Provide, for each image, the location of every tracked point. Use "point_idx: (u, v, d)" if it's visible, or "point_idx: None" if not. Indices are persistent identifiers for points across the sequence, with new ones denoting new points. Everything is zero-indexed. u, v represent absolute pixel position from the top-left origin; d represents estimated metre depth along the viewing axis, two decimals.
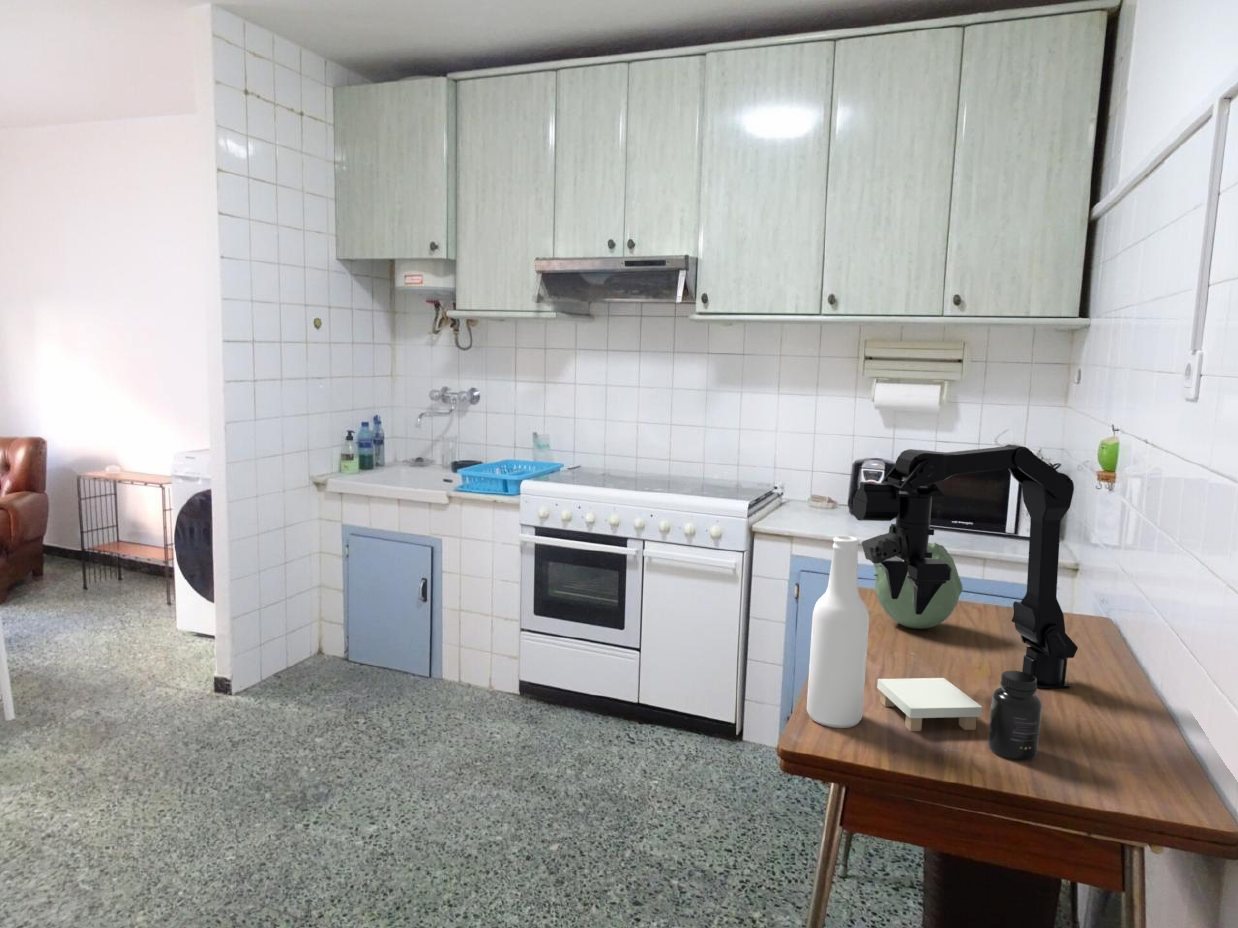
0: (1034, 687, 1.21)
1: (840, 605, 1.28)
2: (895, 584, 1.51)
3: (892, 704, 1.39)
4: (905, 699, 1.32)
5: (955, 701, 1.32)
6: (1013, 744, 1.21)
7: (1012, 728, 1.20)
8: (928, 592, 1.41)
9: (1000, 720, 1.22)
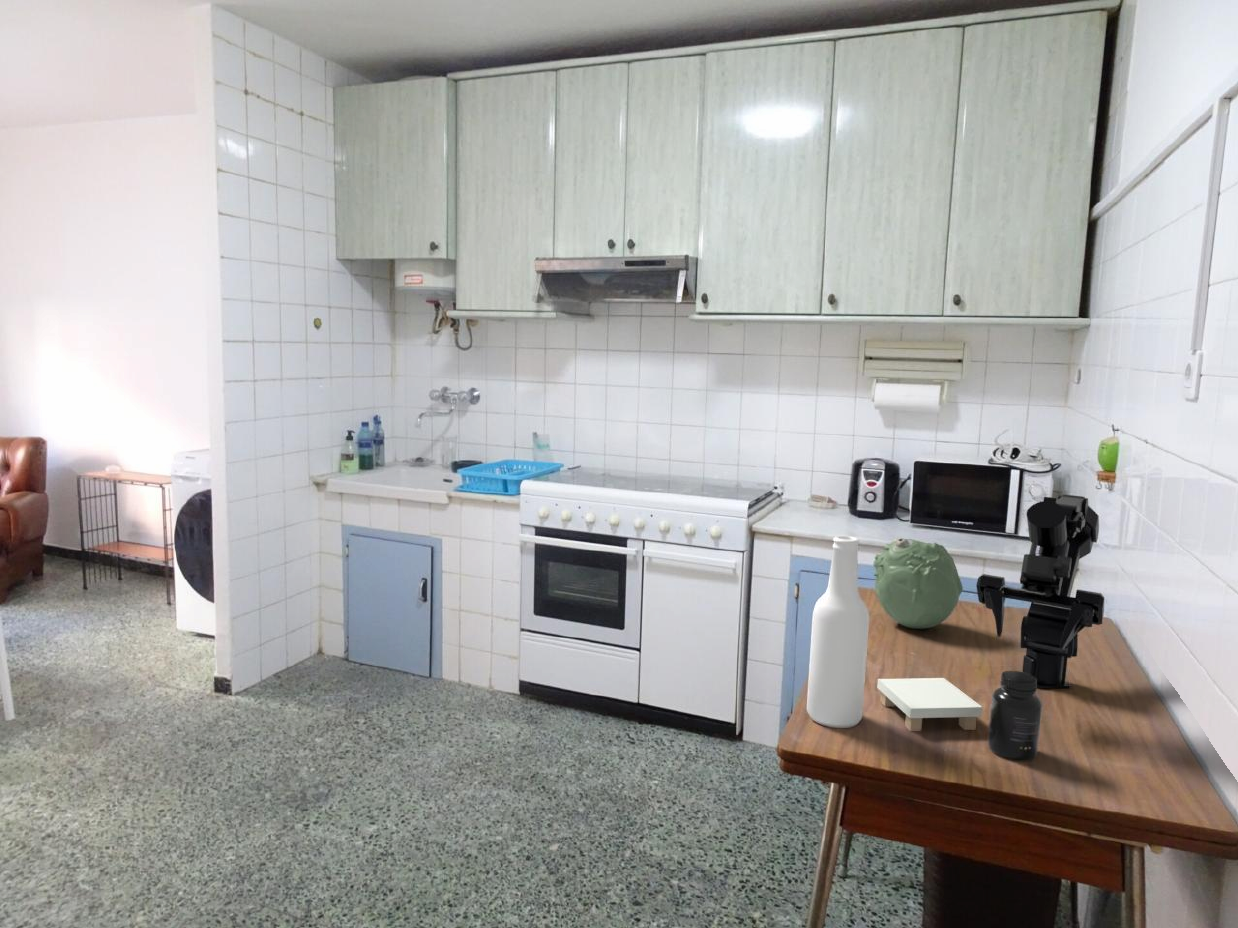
0: (1034, 687, 1.21)
1: (840, 605, 1.28)
2: None
3: (892, 704, 1.39)
4: (905, 699, 1.32)
5: (955, 701, 1.32)
6: (1013, 744, 1.21)
7: (1012, 728, 1.20)
8: (1074, 630, 1.31)
9: (1000, 720, 1.22)
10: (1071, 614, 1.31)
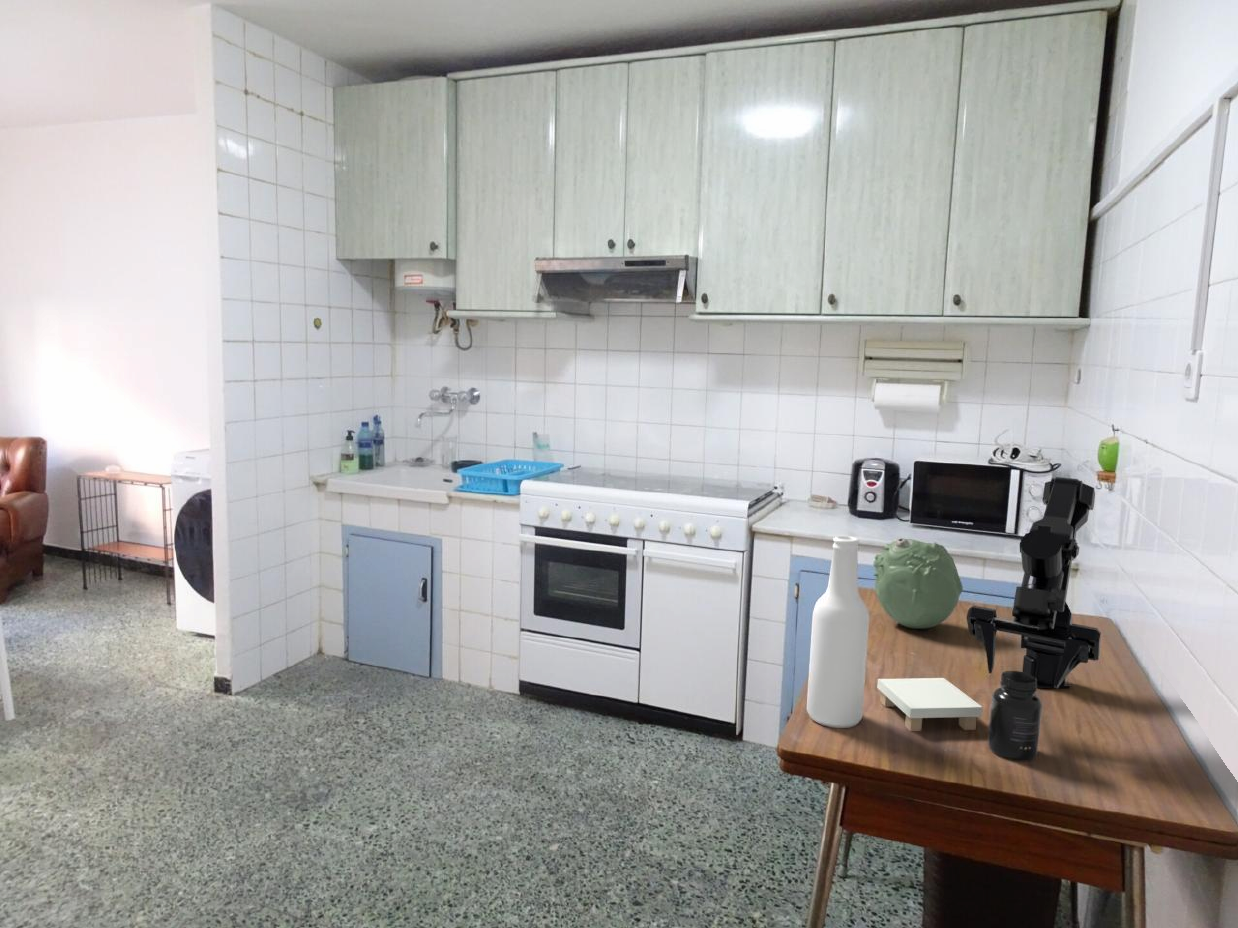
0: (1034, 687, 1.21)
1: (840, 605, 1.28)
2: (993, 656, 1.29)
3: (892, 704, 1.39)
4: (905, 699, 1.32)
5: (955, 701, 1.32)
6: (1013, 744, 1.21)
7: (1012, 728, 1.20)
8: (1069, 666, 1.25)
9: (1000, 720, 1.22)
10: (1066, 650, 1.24)
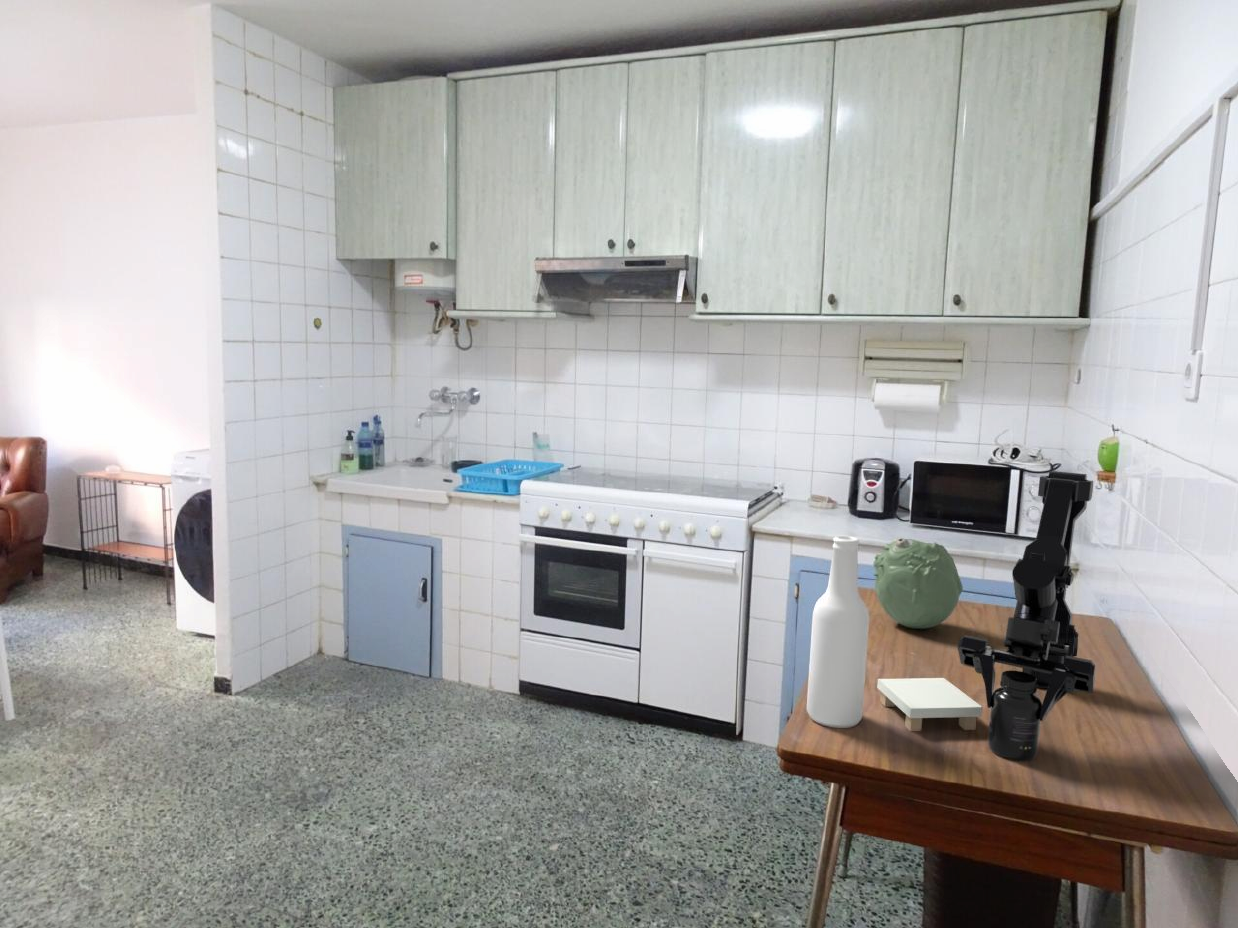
0: (1034, 687, 1.21)
1: (840, 605, 1.28)
2: (992, 690, 1.25)
3: (892, 704, 1.39)
4: (905, 699, 1.32)
5: (955, 701, 1.32)
6: (1013, 744, 1.21)
7: (1012, 728, 1.20)
8: (1055, 698, 1.22)
9: (1000, 720, 1.22)
10: (1051, 681, 1.21)
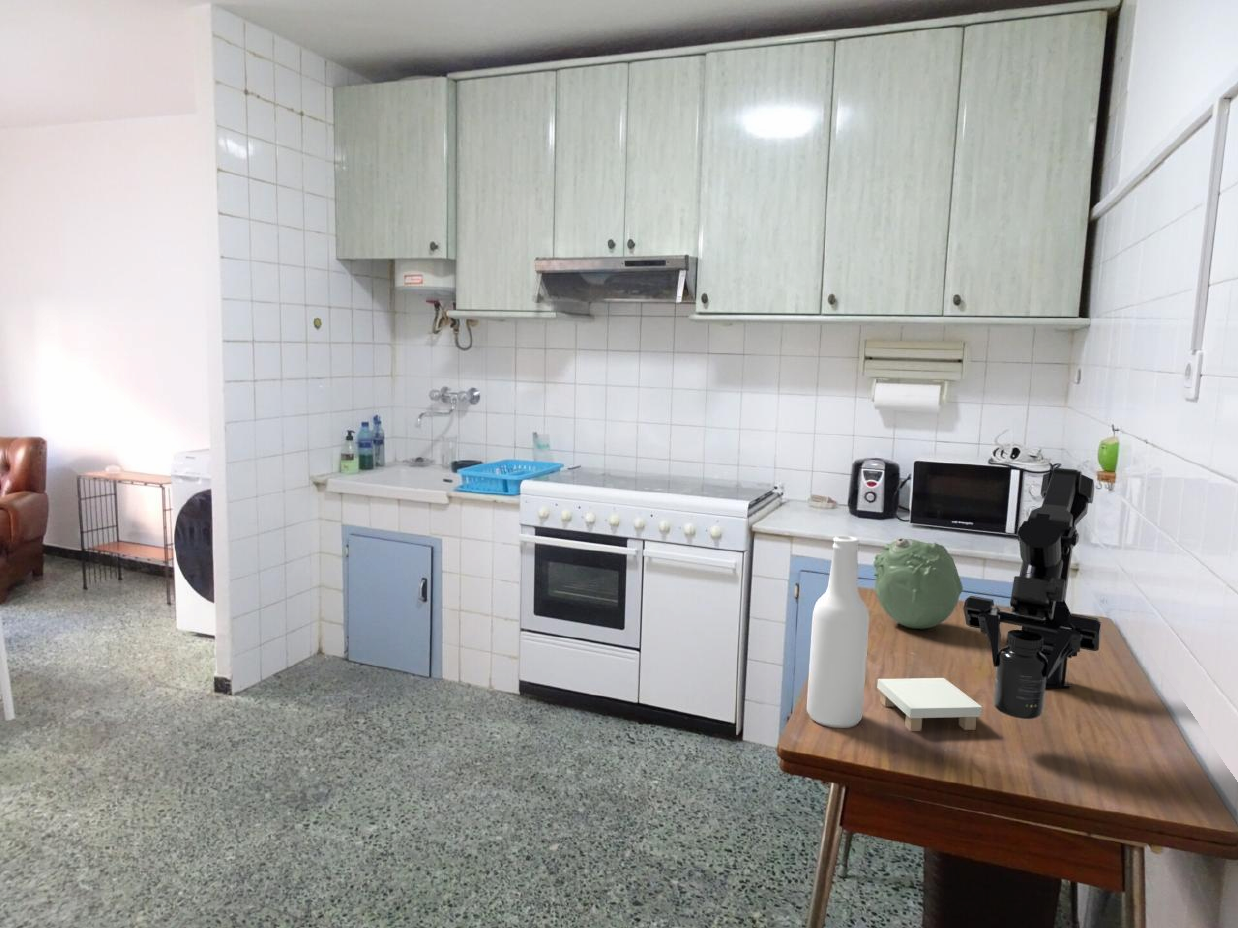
0: (1040, 645, 1.21)
1: (840, 605, 1.28)
2: (998, 649, 1.26)
3: (892, 704, 1.39)
4: (905, 699, 1.32)
5: (955, 701, 1.32)
6: (1019, 702, 1.21)
7: (1018, 686, 1.21)
8: (1061, 656, 1.22)
9: (1005, 678, 1.22)
10: (1057, 639, 1.21)
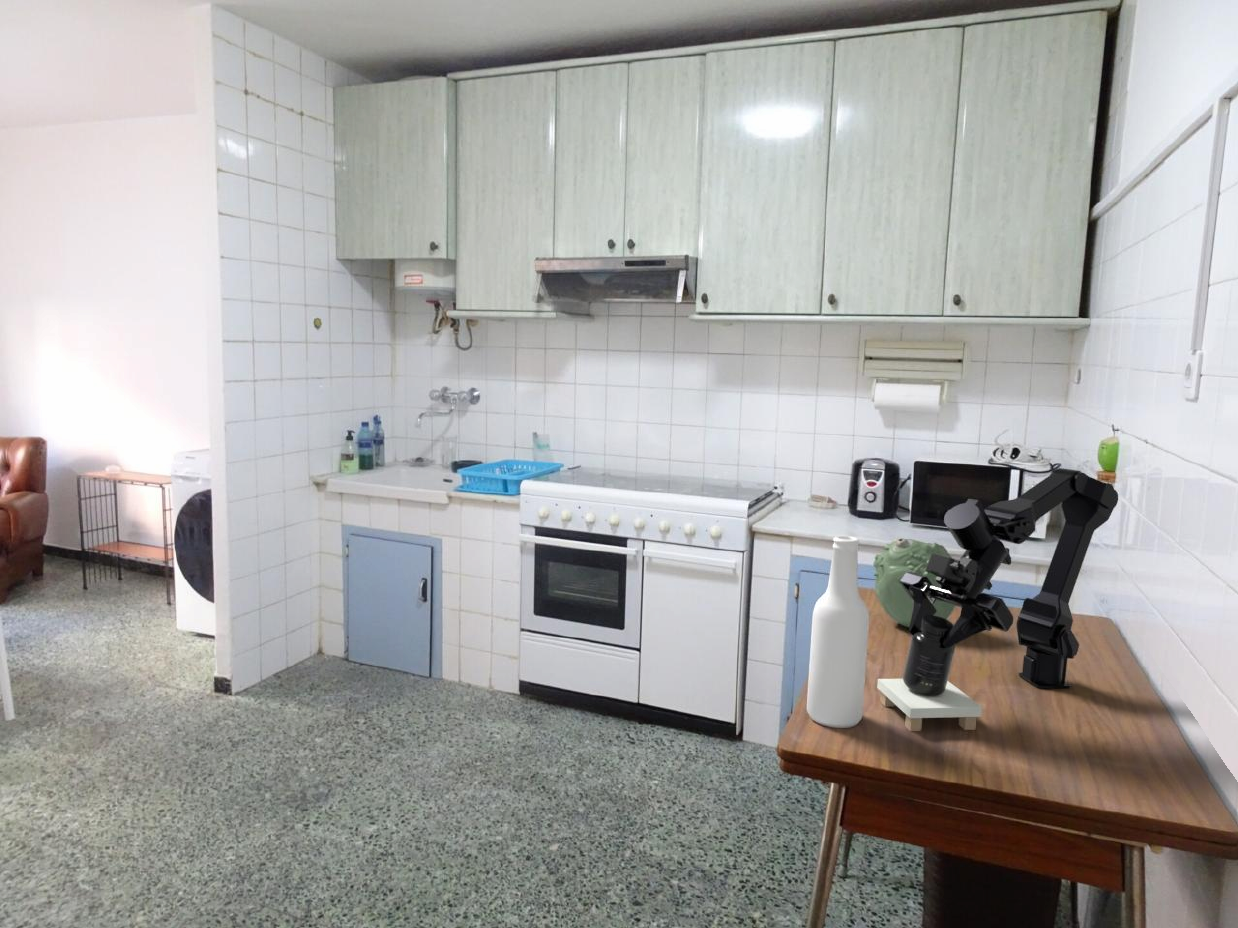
0: (945, 633, 1.31)
1: (840, 605, 1.28)
2: (919, 620, 1.37)
3: (892, 704, 1.39)
4: (905, 699, 1.32)
5: (955, 701, 1.32)
6: (916, 678, 1.33)
7: (917, 664, 1.33)
8: (967, 630, 1.31)
9: (910, 655, 1.34)
10: (961, 614, 1.31)
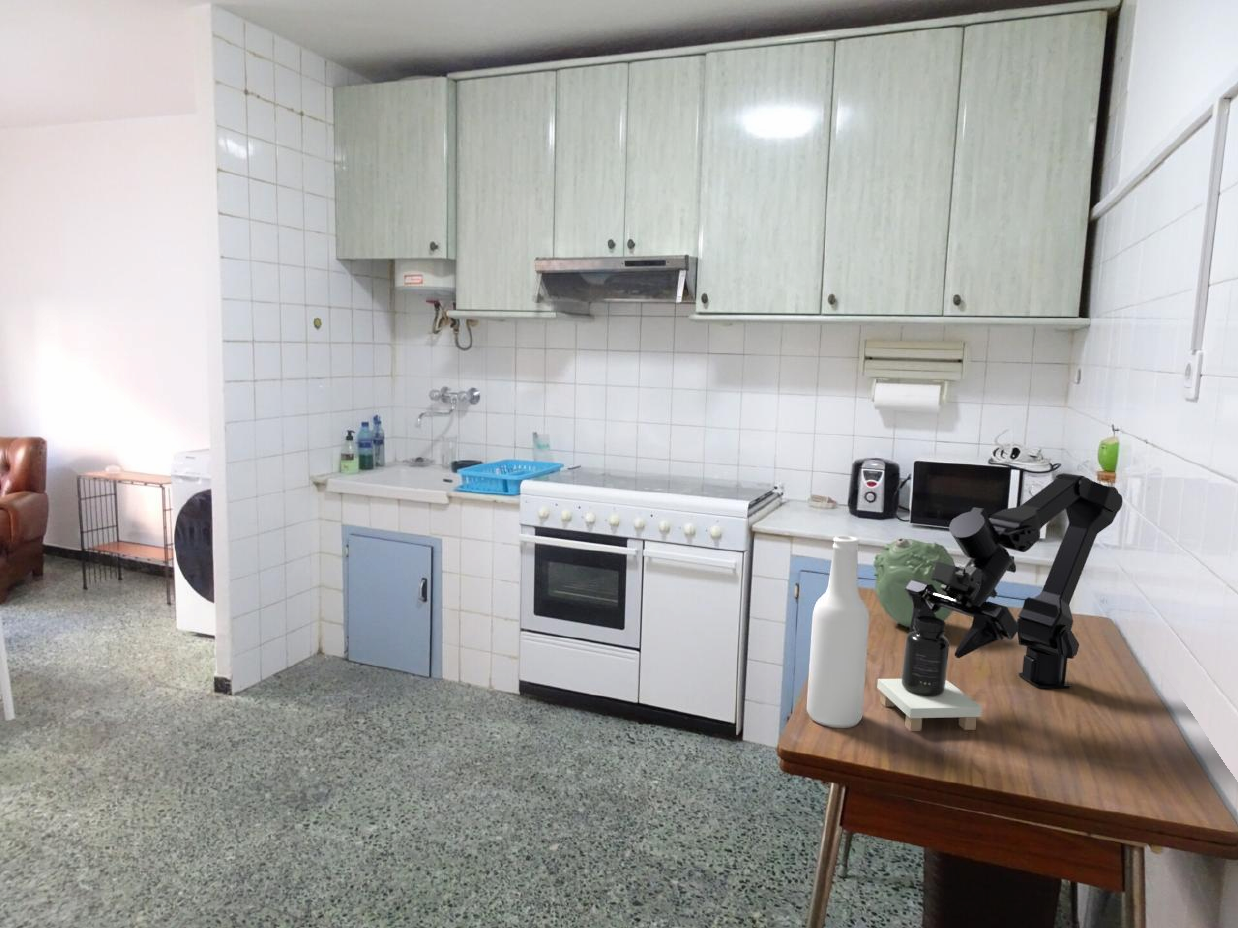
0: (938, 630, 1.33)
1: (840, 605, 1.28)
2: None
3: (892, 704, 1.39)
4: (905, 699, 1.32)
5: (955, 701, 1.32)
6: (914, 678, 1.34)
7: (914, 663, 1.34)
8: (979, 641, 1.31)
9: (906, 655, 1.35)
10: (973, 624, 1.31)
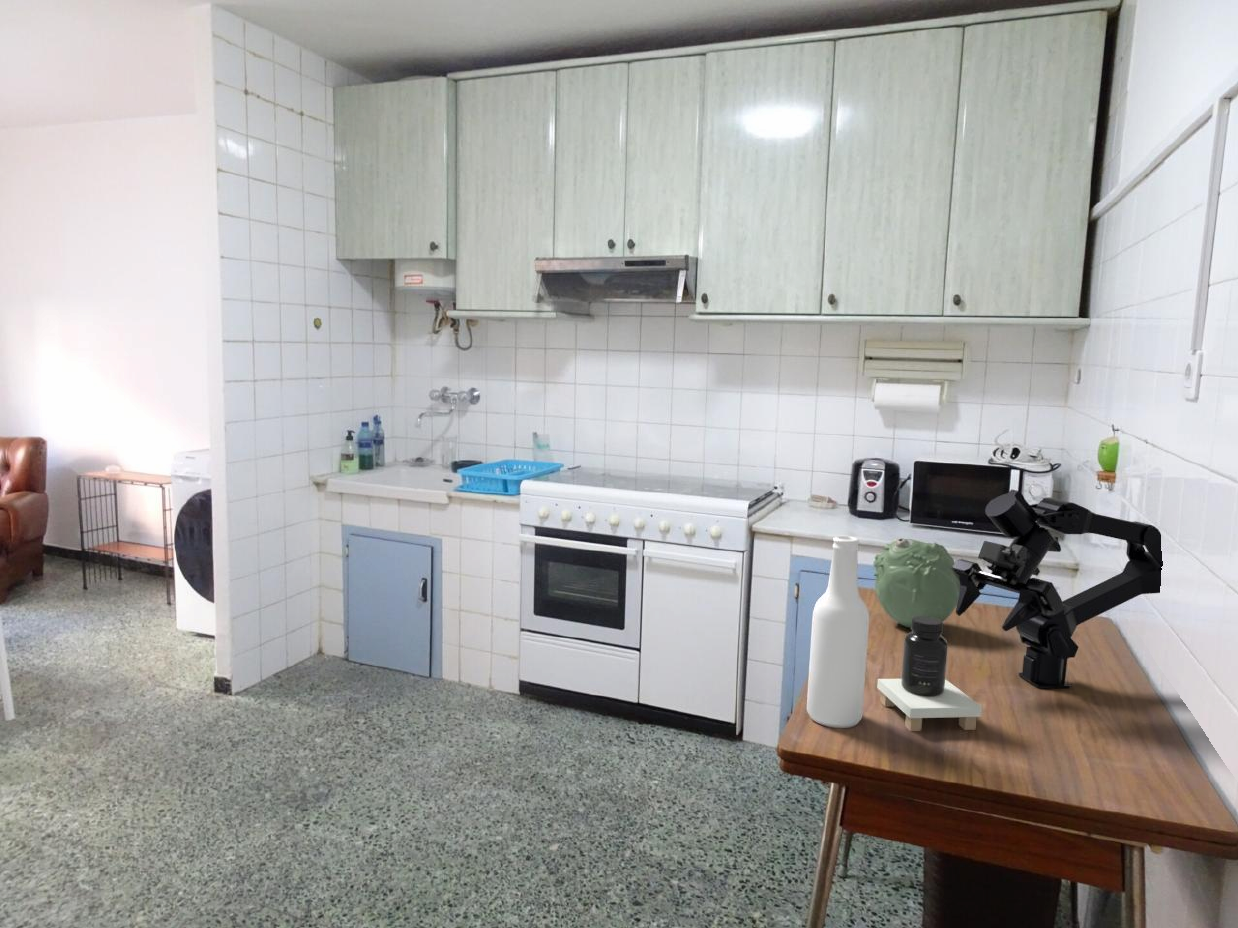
0: (936, 630, 1.33)
1: (840, 605, 1.28)
2: (965, 602, 1.48)
3: (892, 704, 1.39)
4: (905, 699, 1.32)
5: (955, 701, 1.32)
6: (913, 679, 1.34)
7: (913, 664, 1.34)
8: (1025, 615, 1.40)
9: (905, 656, 1.36)
10: (1019, 599, 1.39)
